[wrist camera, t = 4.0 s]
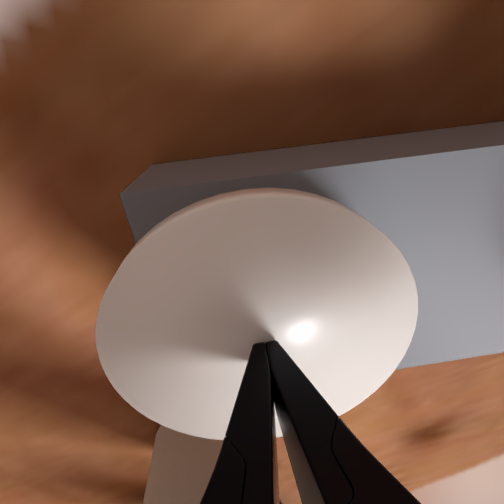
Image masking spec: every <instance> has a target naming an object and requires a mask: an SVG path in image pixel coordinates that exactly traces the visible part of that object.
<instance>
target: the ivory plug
mask: <svg viewBox="0 0 504 504" xmlns="http://www.w3.org/2000/svg"><path fill="white" fill-rule="evenodd" d="M417 316H418V294H417V289H416V284H415V280H414V277H413V275H412V272H411V270H410V267H409V265H408V263H407V262H406V260H405V258H404V257H403V255H402V254H401V252H400V250H399V249H398V248H397V247H396V246H395V245H394V244H393V243H392V242H391V240H390V239H389V238H388V237H387V236H386V235H385V234H383V233H382V232H381V231H379V230H378V229H377V228H376V227H374V226H373V225H372V224H371V223H369V222H368V221H367V220H365V219H364V218H363V217H362V216H360V215H359V214H358V213H356V212H355V211H353V210H351V209H350V208H348V207H346V206H344V205H342V204H340V203H339V202H337V201H334V200H331V199H328V198H326V197H323V196H320V195H317V194H314V193H309V192H304V191H299V190H294V189H282V188H255V189H243V190H238V191H233V192H227V193H222V194H218V195H215V196H212V197H209V198H206V199H203V200H200V201H197V202H195V203H193V204H191V205H189V206H187V207H185V208H183V209H181V210H179V211H177V212H175V213H173V214H172V215H170V216H169V217H167V218H166V219H164V220H163V221H161V222H160V223H158V224H157V225H155V226H154V227H153V228H152V229H151V230H150V231H149V232H147V233H146V234H145V235H144V236H143V237H142V238H141V239H140V240H139V241H138V242H137V243H136V244H135V246H134V247H133V248H132V249H131V251H130V252H129V253H128V254H127V256H126V257H125V259H124V260H123V262H122V263H121V265H120V267H119V268H118V270H117V272H116V273H115V275H114V277H113V278H112V280H111V282H110V284H109V285H108V287H107V289H106V291H105V293H104V296H103V298H102V301H101V304H100V307H99V309H98V315H97V322H96V347H97V351H98V356H99V360H100V363H101V365H102V367H103V370H104V372H105V375H106V376H107V378H108V379H109V381H110V383H111V384H112V386H113V387H114V389H115V390H116V391H117V392H118V393H119V394H120V396H121V397H122V398H123V399H124V400H125V401H126V402H127V403H129V404H130V405H131V406H132V407H133V408H134V409H136V410H137V411H138V412H140V413H141V414H143V415H144V416H146V417H147V418H149V419H151V420H153V421H155V422H157V423H159V424H161V425H163V426H165V427H167V428H170V429H173V430H175V431H178V432H181V433H185V434H188V435H192V436H197V437H202V438H207V439H215V440H224V437H225V434H226V430H227V427H228V424H229V421H230V417H231V414H232V411H233V408H234V404H235V401H236V398H237V395H238V391H239V388H240V385H241V382H242V378H243V375H244V372H245V369H246V365H247V362H248V359H249V356H250V352H251V349H252V346H253V344H255V343H261V342H264V343H266V342H267V341H274V340H276V341H278V342H279V344H280V345H281V346H282V347H283V349H284V350H285V351H286V352H287V353H288V355H289V356H290V357H291V358H292V360H293V361H294V362H295V363H296V365H297V366H298V367H299V368H300V369H301V371H302V372H303V373H304V374H305V376H306V377H307V378H308V379H309V380H310V382H311V383H312V384H313V385H314V387H315V388H316V389H317V390H318V392H319V393H320V394H321V395H322V396H323V398H324V399H325V400H326V401H327V403H328V404H329V405H330V406H331V407H332V409H333V410H334V411H335V412H336V414H337V415H338V416H340V415H342V414H344V413H345V412H347V411H349V410H351V409H352V408H354V407H355V406H357V405H358V404H360V403H361V402H363V401H364V400H365V399H366V398H367V397H369V396H370V395H371V394H372V393H374V392H375V391H376V390H377V389H378V388H379V387H380V386H381V385H382V384H383V383H384V382H385V381H386V380H387V379H388V378H389V376H390V375H391V374H392V373H393V372H394V370H395V369H396V368H397V366H398V365H399V363H400V362H401V360H402V359H403V357H404V355H405V353H406V351H407V349H408V347H409V345H410V343H411V341H412V337H413V334H414V331H415V328H416V322H417ZM274 408H275V405H274ZM275 424H276V437H281V436H283V435H282V431H281V428H280V424H279V421H278V417H277V414H276V410H275Z"/></svg>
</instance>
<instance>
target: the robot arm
mask: <svg viewBox="0 0 504 504" xmlns="http://www.w3.org/2000/svg"><path fill="white" fill-rule="evenodd" d="M274 405H275V408H274ZM275 410H276V414H277V417H278V421H279V424H280V428H281V431H282V435H283V438H284V442H285V445H286V449H287V452H288V456H289V459H290V463H291V466H292V470H293V473H294V477H295V480H296V484H297V487H298V491H299V494H300V497H301V501H302V504H421V503H420V502H419V501H418V500H417V499H416V498H415V497H414V496H413V495H412V494H411V493H410V492H409V491H408V490H407V489H406V488H405V487H404V486H403V485H402V484H401V483H400V482H399V481H398V480H397V479H396V478H395V477H394V476H393V475H392V474H391V473H390V472H389V471H388V470H387V469H386V468H385V467H384V466H383V465H382V464H381V463H380V462H379V461H378V460H377V459H376V458H375V457H374V456H373V455H372V454H371V453H370V452H369V451H368V450H367V449H366V448H365V447H364V445H363V444H362V443H361V442H360V441H359V440H358V439H357V438H356V436H355V435H354V434H353V433H352V432H351V431H350V429H349V428H348V427H347V426H346V425H345V423H344V422H343V421H342V420H341V418H339V416H338V415H337V414H336V412H335V411H334V410H333V409H332V407H331V406H330V405H329V404H328V403H327V401H326V400H325V399H324V398H323V396H322V395H321V394H320V393H319V392H318V390H317V389H316V388H315V387H314V385H313V384H312V383H311V382H310V380H309V379H308V378H307V377H306V376H305V374H304V373H303V372H302V371H301V369H300V368H299V367H298V366H297V365H296V363H295V362H294V361H293V360H292V358H291V357H290V356H289V355H288V353H287V352H286V351H285V350H284V349H283V347H282V346H281V345H280V344H279V342H278V341H276V340H274V341H267V342H266V343H264V342H261V343H255V344H253V346H252V349H251V352H250V356H249V359H248V362H247V365H246V369H245V372H244V375H243V378H242V382H241V385H240V388H239V391H238V395H237V398H236V401H235V404H234V408H233V411H232V414H231V417H230V421H229V424H228V427H227V430H226V434H225V437H224V440H223V443H222V446H221V450H220V453H219V455H218V458H217V461H216V464H215V467H214V470H213V473H212V475H211V478H210V480H209V483H208V485H207V488H206V490H205V492H204V495H203V497H202V499H201V502H200V504H280V503H279V483H278V463H277V444H276V424H275Z"/></svg>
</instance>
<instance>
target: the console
mask: <svg viewBox="0 0 504 504" xmlns="http://www.w3.org/2000/svg"><path fill="white" fill-rule="evenodd" d="M255 188H282V189H294V190H299V191H304V192H309V193H314V194H317V195H320V196H323V197H326V198H328V199H331V200H334V201H337V202H339V203H340V204H342V205H344V206H346V207H348V208H350V209H351V210H353V211H355V212H356V213H358V214H359V215H360V216H362V217H363V218H364V219H365V220H367V221H368V222H369V223H371V224H372V225H373V226H374V227H376V228H377V229H378V230H379V231H381V232H382V233H383V234H385V235H386V236H387V237H388V238H389V239H390V240H391V242H392V243H393V244H394V245H395V246H396V247H397V248H398V249H399V250H400V252H401V254H402V255H403V257H404V258H405V260H406V262H407V263H408V265H409V267H410V270H411V272H412V275H413V277H414V280H415V284H416V289H417V294H418V316H417V322H416V328H415V331H414V334H413V337H412V341H411V343H410V345H409V347H408V349H407V351H406V353H405V355H404V357H403V359H402V360H401V362H400V363H399V365H398V366H397V368H396V369H402V368H408V367H414V366H421V365H427V364H433V363H439V362H445V361H452V360H458V359H464V358H470V357H477V356H483V355H489V354H495V353H502V352H504V121H500V122H492V123H484V124H476V125H467V126H459V127H451V128H443V129H435V130H427V131H419V132H411V133H403V134H394V135H386V136H378V137H370V138H362V139H354V140H346V141H338V142H330V143H321V144H313V145H305V146H297V147H289V148H281V149H273V150H265V151H256V152H248V153H240V154H232V155H224V156H216V157H208V158H200V159H192V160H183V161H175V162H167V163H159V164H152V165H151V166H149V167H148V168H147V169H146V170H145V171H144V172H143V173H142V174H141V175H139V176H138V177H137V178H136V179H135V180H134V181H133V182H132V183H130V184H129V185H128V186H127V187H126V188H125V189H124V190H123V191H122V192H120V193H119V195H120V198H121V201H122V204H123V207H124V210H125V213H126V216H127V219H128V222H129V225H130V228H131V231H132V234H133V237H134V240H135V243H137V242H138V241H139V240H140V239H141V238H142V237H143V236H144V235H145V234H146V233H147V232H149V231H150V230H151V229H152V228H153V227H154V226H155V225H157V224H158V223H160V222H161V221H163V220H164V219H166V218H167V217H169V216H170V215H172V214H173V213H175V212H177V211H179V210H181V209H183V208H185V207H187V206H189V205H191V204H193V203H195V202H197V201H200V200H203V199H206V198H209V197H212V196H215V195H218V194H222V193H227V192H233V191H238V190H243V189H255ZM396 369H395V370H396Z"/></svg>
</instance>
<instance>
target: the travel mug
mask: <svg viewBox="0 0 504 504" xmlns="http://www.w3.org/2000/svg"><path fill="white" fill-rule="evenodd" d="M222 443H223V440H215V439H207V438H202V437H197V436H192V435H188V434H185V433H181V432H178V431H175V430H173V429H170V428H167V427H165V426H163V425H161V426H160V427H159V429H158V431H157V433H156V438H155V443H154V448H153V453H152V459H151V464H150V469H149V474H148V480H147V485H146V490H145V495H144V500H143V504H200V502H201V499H202V497H203V495H204V492H205V490H206V488H207V485H208V483H209V480H210V478H211V475H212V473H213V470H214V467H215V464H216V461H217V458H218V455H219V453H220V450H221V446H222Z"/></svg>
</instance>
